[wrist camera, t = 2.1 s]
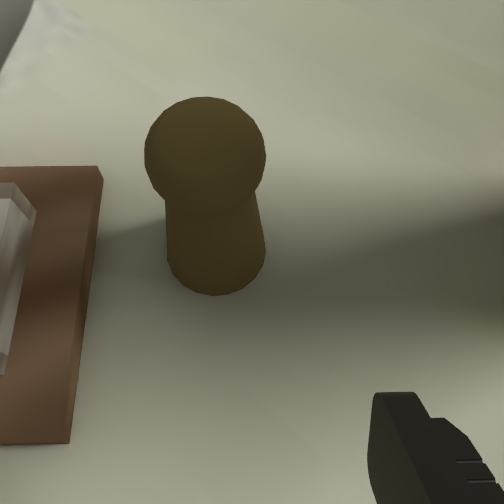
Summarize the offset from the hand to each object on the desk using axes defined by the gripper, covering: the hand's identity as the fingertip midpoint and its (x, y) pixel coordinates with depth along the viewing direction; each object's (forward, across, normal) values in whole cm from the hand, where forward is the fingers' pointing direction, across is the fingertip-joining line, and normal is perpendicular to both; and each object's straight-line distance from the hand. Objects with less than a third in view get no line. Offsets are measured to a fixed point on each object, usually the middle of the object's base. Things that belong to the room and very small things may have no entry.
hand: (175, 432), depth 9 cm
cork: (+20, 0, +3) cm, 20 cm away
